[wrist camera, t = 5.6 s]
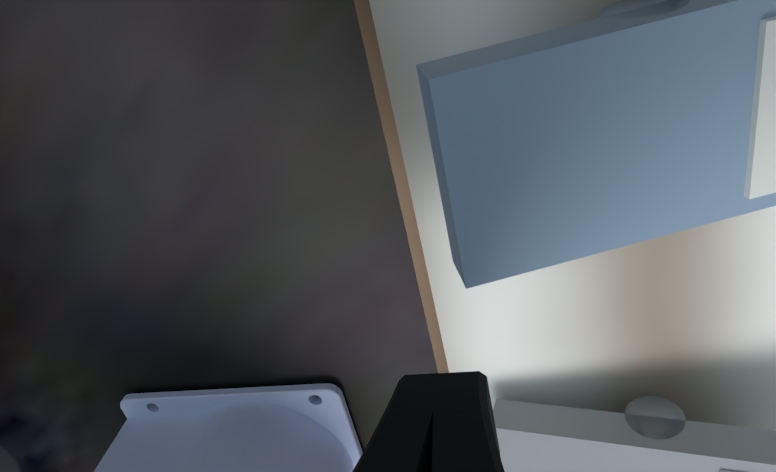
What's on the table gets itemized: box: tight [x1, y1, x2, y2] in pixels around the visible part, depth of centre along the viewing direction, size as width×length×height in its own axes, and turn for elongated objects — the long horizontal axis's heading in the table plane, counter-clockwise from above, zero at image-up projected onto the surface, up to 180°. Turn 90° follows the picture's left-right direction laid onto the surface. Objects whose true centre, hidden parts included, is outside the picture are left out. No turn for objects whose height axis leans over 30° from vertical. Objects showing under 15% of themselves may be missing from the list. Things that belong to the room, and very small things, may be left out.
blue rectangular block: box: [416, 0, 776, 289], centre depth 11 cm, size 8×4×2 cm, turn 102°
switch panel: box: [354, 0, 776, 430], centre depth 16 cm, size 16×24×4 cm, turn 12°
